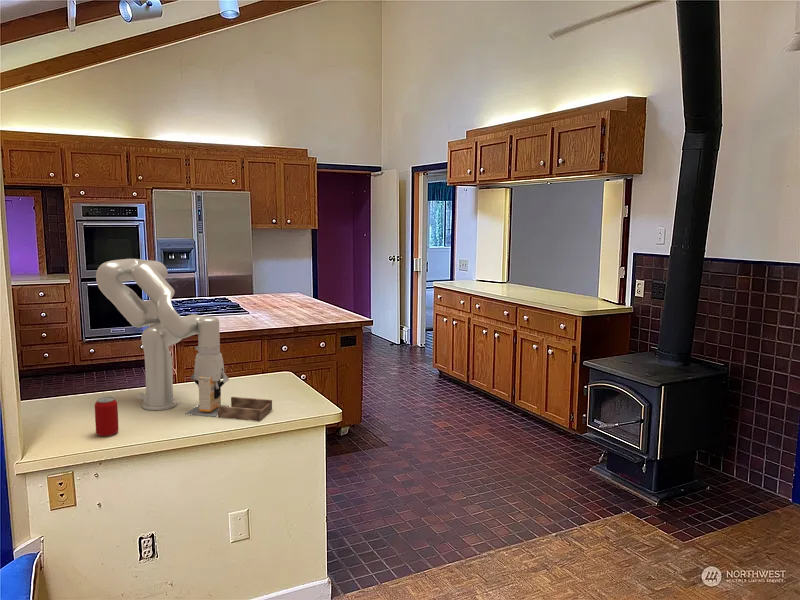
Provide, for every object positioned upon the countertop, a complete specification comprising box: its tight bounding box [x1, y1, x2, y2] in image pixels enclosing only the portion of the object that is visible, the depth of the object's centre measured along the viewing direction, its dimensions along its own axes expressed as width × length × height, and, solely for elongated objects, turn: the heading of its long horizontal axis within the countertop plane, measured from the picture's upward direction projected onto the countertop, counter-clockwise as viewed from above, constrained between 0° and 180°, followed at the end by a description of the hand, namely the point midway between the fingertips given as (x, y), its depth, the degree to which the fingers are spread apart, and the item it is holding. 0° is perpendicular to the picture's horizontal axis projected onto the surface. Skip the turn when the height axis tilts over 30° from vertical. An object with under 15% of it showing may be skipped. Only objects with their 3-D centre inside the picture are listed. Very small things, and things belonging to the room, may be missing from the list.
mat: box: [184, 404, 230, 418], centre depth 220 cm, size 12×12×1 cm
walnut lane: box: [217, 396, 273, 422], centre depth 218 cm, size 16×12×4 cm
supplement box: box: [198, 377, 222, 412], centre depth 219 cm, size 8×5×13 cm, turn 168°
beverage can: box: [94, 396, 119, 437], centre depth 194 cm, size 7×7×12 cm
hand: (210, 397), depth 219 cm, fingers closed on supplement box, 4 cm apart
